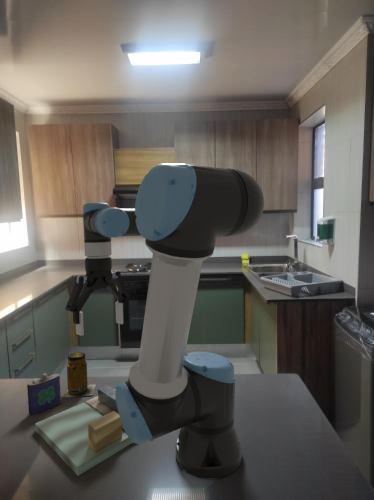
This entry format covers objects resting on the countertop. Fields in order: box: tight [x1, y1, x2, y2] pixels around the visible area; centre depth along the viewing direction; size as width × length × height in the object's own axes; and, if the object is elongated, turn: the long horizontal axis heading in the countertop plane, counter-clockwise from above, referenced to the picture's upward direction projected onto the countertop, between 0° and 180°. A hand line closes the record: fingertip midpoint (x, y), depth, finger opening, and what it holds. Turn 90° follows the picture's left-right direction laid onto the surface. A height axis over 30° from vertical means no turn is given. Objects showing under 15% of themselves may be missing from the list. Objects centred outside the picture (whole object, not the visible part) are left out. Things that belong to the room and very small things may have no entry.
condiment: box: [63, 351, 97, 398], centre depth 104 cm, size 7×8×12 cm
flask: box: [26, 372, 62, 418], centre depth 94 cm, size 9×3×11 cm, turn 138°
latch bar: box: [97, 384, 119, 414], centre depth 90 cm, size 15×4×4 cm, turn 46°
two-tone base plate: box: [34, 388, 134, 477], centre depth 86 cm, size 22×24×8 cm
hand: (100, 328), depth 97 cm, fingers open, 13 cm apart
